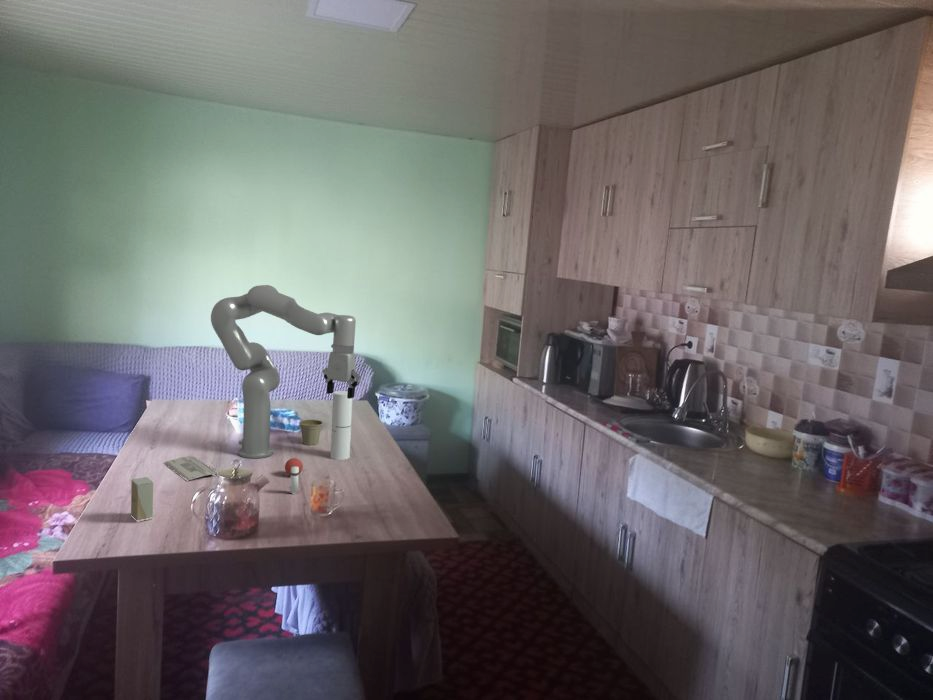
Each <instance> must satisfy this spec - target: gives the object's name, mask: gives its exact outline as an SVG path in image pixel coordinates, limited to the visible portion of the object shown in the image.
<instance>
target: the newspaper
mask: <svg viewBox="0 0 933 700" xmlns="http://www.w3.org/2000/svg"><path fill="white" fill-rule="evenodd" d="M164 463H165V464H166V465H168V466H169V467H170V468H171V469H172V470H171V469H170V468H169V467H168V466H167V467H168V468H169V469H170V470H171V471H173V470H174V471H175V472H177V473H178V474H179V475H181V476H182V477H184V478H186V479H187V480H188V482H189V480H190V481H192V480H194V479H199V478H202V477H206V476H209V475H210V476H211V475H212V474H215V475H216V476H217V472H215V471H216V470H217V469H215V468H213V467H212V466H210V465H209V467H208V466H207V465H208V464H206V463H204V462H203V461H201V460H200V459H198V458H197V457H195V456H193V455H188V456H182V457H178V458H174V459H170V460H167V461H165V462H163V464H164ZM165 464H164V465H165ZM205 464H206V465H205ZM166 465H165V466H166ZM210 467H211V468H212V469H211V468H210ZM214 470H215V471H214ZM174 471H173V472H174ZM175 472H174V473H175ZM178 474H177V475H178ZM179 475H178V476H179ZM182 477H181V478H182ZM217 477H218V476H217Z"/></svg>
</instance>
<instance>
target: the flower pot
mask: <svg viewBox="0 0 933 700" xmlns="http://www.w3.org/2000/svg"><path fill="white" fill-rule="evenodd" d="M298 424H299V427H300V430H301V431H300V432H301V438H302V444H303V445H305V444H306V445H305V446H313V445H315V444H316V445H318V444H319V442H320V435H321V430H322V426H323V424H324V422H323V421H321V420H319V419H304V420H303V419H302V420H301V421H300V420H299V422H298Z"/></svg>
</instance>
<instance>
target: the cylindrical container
mask: <svg viewBox="0 0 933 700" xmlns="http://www.w3.org/2000/svg"><path fill="white" fill-rule="evenodd" d="M332 394H333V395H332V412H331V413H332V415H331V416H332V418H331V435H330V439H331V440H330V459H332V460H336V461H344V460H345V459H346V460H348V458H349V459H350V457H351V454H350V453H351V438H352V437H351V436H352V435H351V432H352V414H353V413H352V412H353V398H350V399H348V398H347V394H348V390H334V392H333V393H332Z"/></svg>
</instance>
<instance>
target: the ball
mask: <svg viewBox="0 0 933 700" xmlns="http://www.w3.org/2000/svg"><path fill="white" fill-rule="evenodd" d="M293 466H297V467H299V475H300V474H301V472H302V471H303V468H304V467H303V462H302V460H300V459H299V458H296V457H292V458H289V459H288V460H287V461H286V463H285V464H284V470H285V472H286V474H287V475H288V476H291V467H293Z"/></svg>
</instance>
